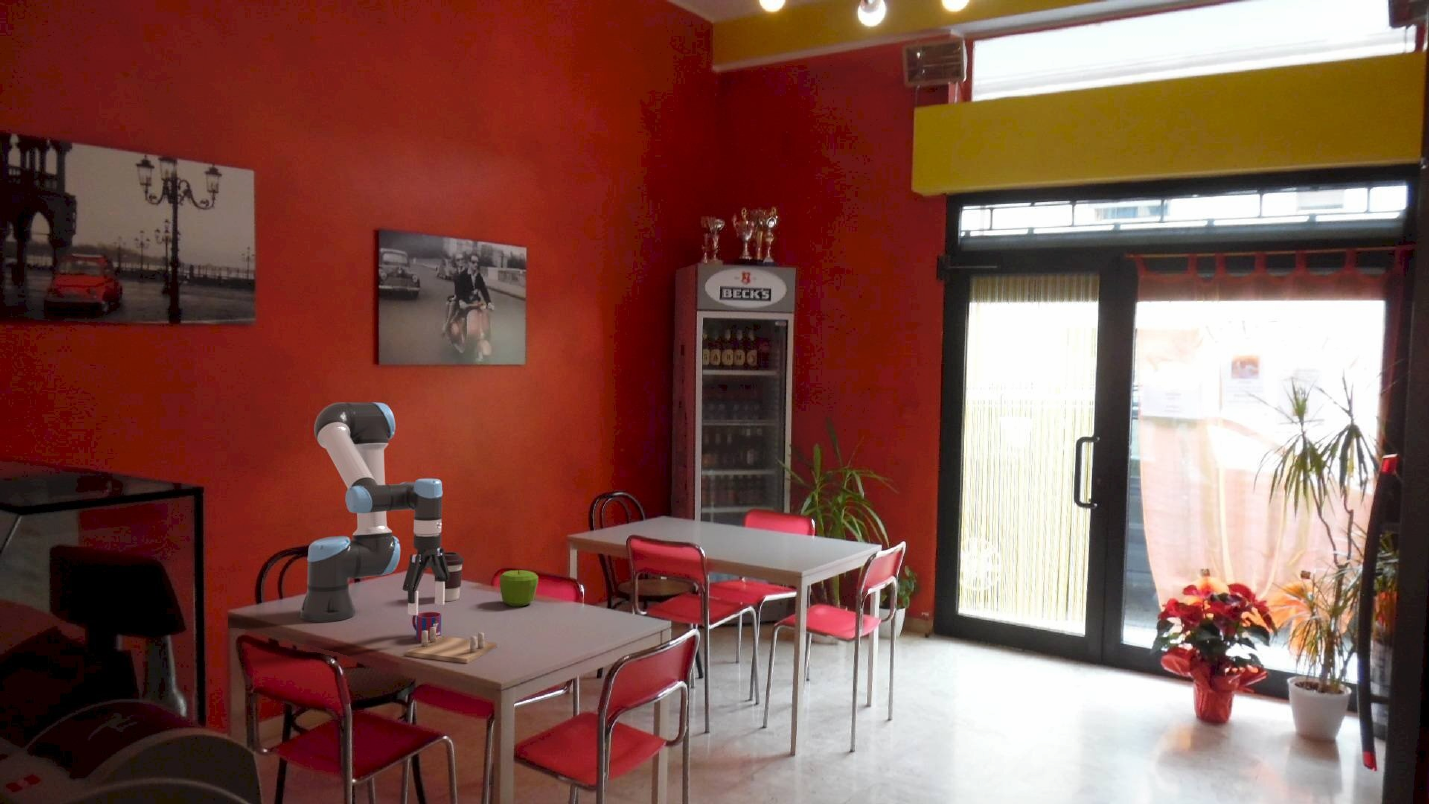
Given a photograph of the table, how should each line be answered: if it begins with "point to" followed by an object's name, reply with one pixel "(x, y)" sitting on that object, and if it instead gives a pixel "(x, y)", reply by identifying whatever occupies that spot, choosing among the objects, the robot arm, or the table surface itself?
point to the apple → (518, 587)
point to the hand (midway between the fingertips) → (426, 609)
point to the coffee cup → (453, 575)
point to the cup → (427, 623)
